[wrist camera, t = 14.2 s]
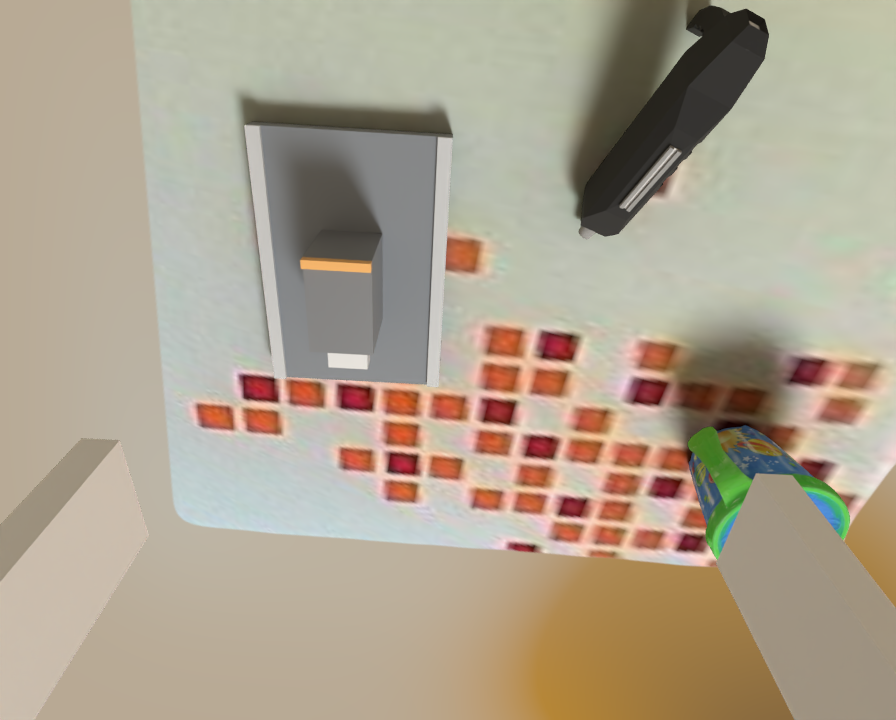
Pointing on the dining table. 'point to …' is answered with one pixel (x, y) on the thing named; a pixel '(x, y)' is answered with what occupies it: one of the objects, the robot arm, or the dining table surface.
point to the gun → (676, 117)
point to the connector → (344, 296)
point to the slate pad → (355, 210)
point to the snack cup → (748, 478)
